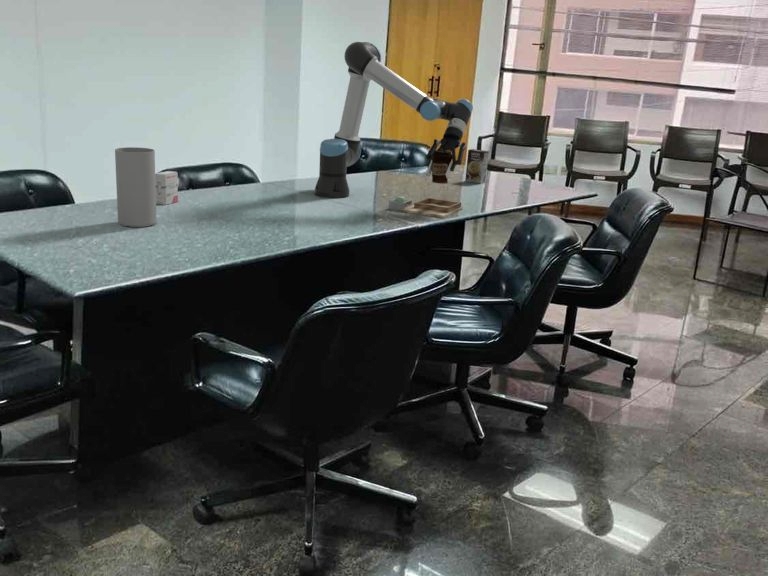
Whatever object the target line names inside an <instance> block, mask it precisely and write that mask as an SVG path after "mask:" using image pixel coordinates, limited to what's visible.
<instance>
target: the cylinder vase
mask: <svg viewBox="0 0 768 576" xmlns="http://www.w3.org/2000/svg"><path fill="white" fill-rule="evenodd" d="M155 153H156V152H155V149H153V148H148V147H134V146H133V147H129V146H126V147H117V148H115V149H114V159H115V161H114V162H115V181H116V182H115V184H116V203H117V204H116V207H117V221H118V224H119V225H120V226H122V225H123V227H126V226H129V227H128V228H144V227H145V228H146V226H148V227H152V226H154V225H155V224H156V223H157V220H158V219H157V204H156V184H155V174H156V158H155V157H156V156H155V155H156V154H155ZM151 225H152V226H151Z"/></svg>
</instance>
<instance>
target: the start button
mask: <svg viewBox="0 0 768 576" xmlns="http://www.w3.org/2000/svg"><path fill="white" fill-rule="evenodd" d="M395 198H396V201H400V202H405V199H406V197H405V196H396V197H395Z"/></svg>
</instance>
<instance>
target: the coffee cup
mask: <svg viewBox="0 0 768 576" xmlns="http://www.w3.org/2000/svg"><path fill="white" fill-rule="evenodd" d="M452 158H453V155H452V151H444V150H443V151H442V150H439V151H438V150H437V149H436V150H435V152H434V153H433V154H432V172H431V179H432V180H431V182H432V183H433V184H442V185H443V184H445V185H448V183H449V182H448V181H449V179H447V178H446V175H445V174H446V172H447V169H448V167H449V164H450V162H452Z"/></svg>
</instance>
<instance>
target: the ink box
mask: <svg viewBox="0 0 768 576" xmlns="http://www.w3.org/2000/svg"><path fill="white" fill-rule="evenodd" d="M178 177H179V176H178V172H177V171H171V170H169V171H168V170H167V171H161V172H157V173H156V172H155V184H156V205H161V206H162V205H163V206H167V205H171V204H173V203H174V204H175V203H177V202H178V201H179V199H178V198H179V197H178V194H179V193H178V191H179V189H178V179H179V178H178Z"/></svg>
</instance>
